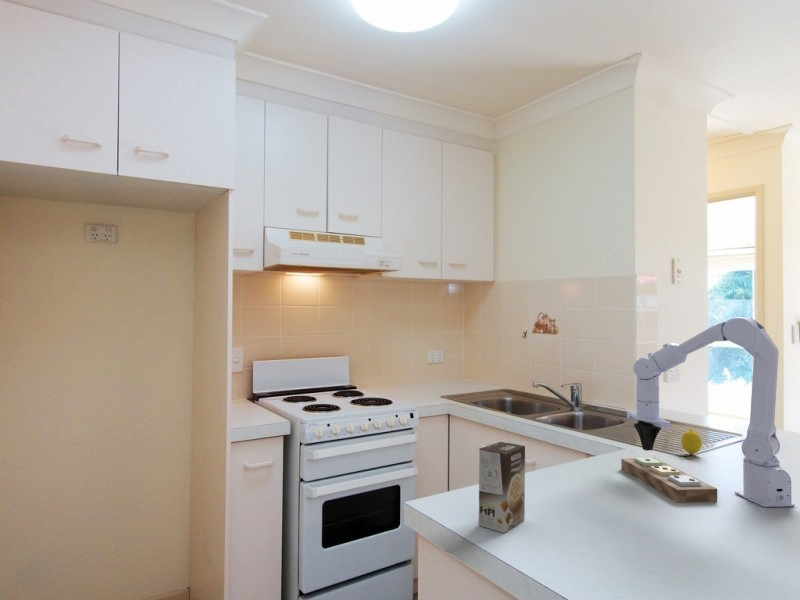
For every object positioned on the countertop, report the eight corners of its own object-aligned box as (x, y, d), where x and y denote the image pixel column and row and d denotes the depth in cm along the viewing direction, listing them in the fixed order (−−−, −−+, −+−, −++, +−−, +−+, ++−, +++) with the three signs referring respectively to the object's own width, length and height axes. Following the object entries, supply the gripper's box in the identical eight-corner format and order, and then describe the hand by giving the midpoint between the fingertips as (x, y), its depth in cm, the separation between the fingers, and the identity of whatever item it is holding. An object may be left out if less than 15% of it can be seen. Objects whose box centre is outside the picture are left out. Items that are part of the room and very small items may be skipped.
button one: (661, 472, 141) (661, 461, 141) (644, 473, 141) (644, 462, 141) (651, 467, 146) (651, 456, 146) (634, 467, 146) (634, 457, 146)
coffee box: (505, 534, 104) (505, 454, 104) (477, 525, 108) (478, 448, 108) (525, 520, 111) (525, 445, 111) (499, 512, 115) (499, 440, 115)
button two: (700, 493, 125) (700, 480, 125) (680, 493, 125) (680, 481, 125) (687, 486, 130) (687, 474, 130) (668, 486, 130) (668, 474, 130)
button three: (680, 482, 133) (679, 470, 133) (661, 482, 133) (661, 471, 133) (668, 476, 138) (668, 465, 138) (650, 476, 138) (650, 465, 138)
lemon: (704, 457, 160) (704, 432, 160) (684, 456, 161) (684, 431, 162) (697, 453, 166) (697, 428, 166) (679, 452, 167) (678, 427, 167)
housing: (717, 501, 123) (717, 488, 123) (677, 502, 122) (677, 489, 122) (654, 468, 149) (654, 458, 149) (621, 469, 148) (621, 458, 148)
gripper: (679, 404, 138) (679, 456, 138) (641, 396, 152) (641, 442, 152) (657, 405, 136) (657, 457, 136) (620, 396, 150) (620, 443, 150)
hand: (647, 449), depth 144 cm, fingers closed
